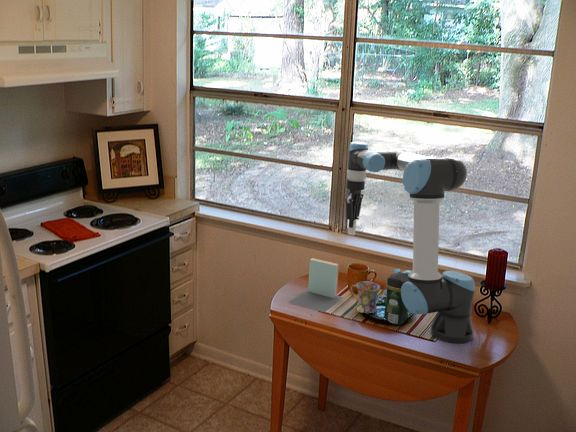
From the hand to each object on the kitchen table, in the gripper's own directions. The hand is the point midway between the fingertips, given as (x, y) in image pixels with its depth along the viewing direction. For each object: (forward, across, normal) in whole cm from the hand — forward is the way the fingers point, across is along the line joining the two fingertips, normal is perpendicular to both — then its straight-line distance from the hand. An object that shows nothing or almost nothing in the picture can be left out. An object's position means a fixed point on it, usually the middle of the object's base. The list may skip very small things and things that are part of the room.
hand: (351, 234), depth 275 cm
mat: (+23, +25, -2) cm, 34 cm away
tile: (+22, +18, -2) cm, 29 cm away
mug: (+23, +21, +17) cm, 36 cm away
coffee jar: (+23, +22, +31) cm, 44 cm away
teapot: (+23, -1, +25) cm, 34 cm away
